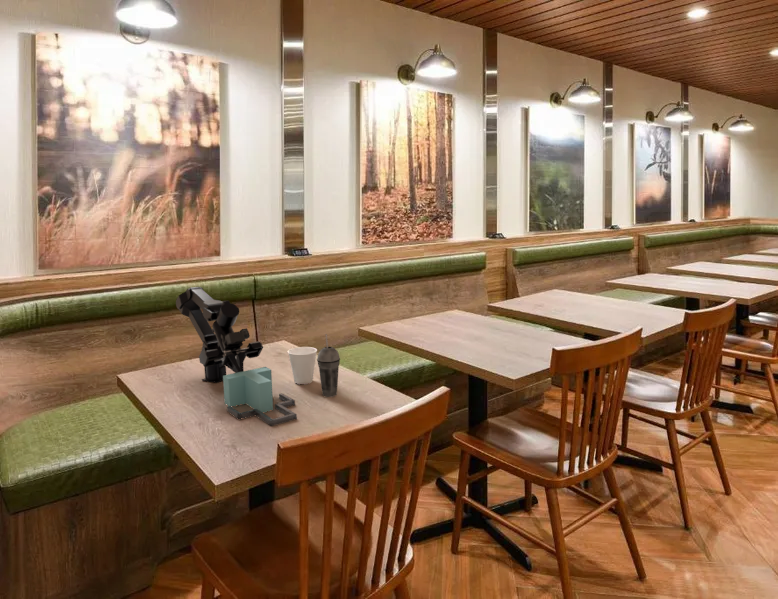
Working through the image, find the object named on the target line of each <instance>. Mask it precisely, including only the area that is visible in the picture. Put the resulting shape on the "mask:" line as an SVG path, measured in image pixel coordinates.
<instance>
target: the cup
mask: <svg viewBox="0 0 778 599" xmlns="http://www.w3.org/2000/svg"><path fill="white" fill-rule="evenodd" d="M317 353H318V349H317V348H315V347H313V346H312V347H311V346H298V347H293V348H290V349H288V350H287V354H288V358H289V363H290V368H291V372H292V376H293V381H294V383H295V384H296V383H297V384H296V385H300V384H304V385H309V384H311V383H312V382H313V381H314V374H315V366H316V360H317ZM308 383H309V384H308Z"/></svg>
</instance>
